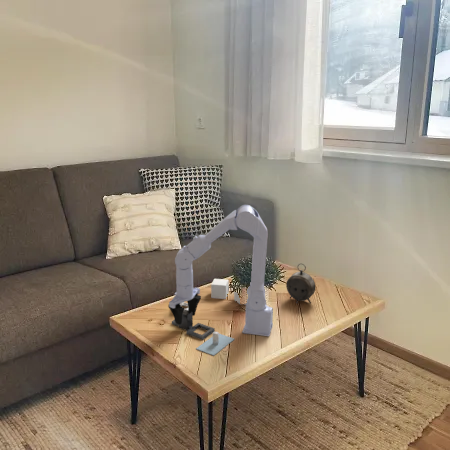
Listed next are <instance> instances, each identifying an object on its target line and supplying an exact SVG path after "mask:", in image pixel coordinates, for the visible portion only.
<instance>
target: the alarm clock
mask: <svg viewBox="0 0 450 450" xmlns="http://www.w3.org/2000/svg"><path fill="white" fill-rule="evenodd" d="M300 265H301V266H302V265H303V266H304V270H303V269H301V270H300V269H299V266H300ZM296 268H297V270H298V271H297V272H294V273H293V274H292V275H291V276H289V278H288V279H287V281H286V291H287V293H288V294H289V298H290V299H291V298H292V299H294V300H295V301H296V304H298V303H299V302H304V301H305V302H306V301H308V302H309V304H312V302H311V299H310V298H311V297H312V296H313V295H314V294H315V292H316V283H315V279H313V277H312V276H311V275H310V274H308V273H307V272H305V271H306V268H307V267H306V265H305V264H304V263H298V265H297V267H296Z"/></svg>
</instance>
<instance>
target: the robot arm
mask: <svg viewBox="0 0 450 450" xmlns="http://www.w3.org/2000/svg"><path fill="white" fill-rule="evenodd" d="M238 228H239V229H240V230H242V231H244V232H247V233H248V234H250V236H252V237H253V244H252V245H253V246H252V258H251V269H252V271H251V282H250V286H249V287H248V289H247V294H248V299H247V303H246V304H245V317H244V321H245V324H244V325H243V329H242V332H241V333H242V334H247V335H254V336H255V335H256V336H262V337H270V336H271V333H272V329H273V326H274V325H273V321H274V320H273V319H274V317H273V316H274V314H273V313H274V308H273V307H271V306H269V305H267V300H266V289H265V277H266V276H265V274H266V264H267V263H266V262H267V251H268V236H269V234H268V233H269V232H268V228H267V226H266V225H265V223H264V220H263V219H262V217H261V216H260V214H259V212H258V211H257V209H256V208H254V207H253V206H251V205H249V204H242V205H241V206H239V207H238V208H237V209H234V210H233V211H232V212H230V213H229V214H228V215H226V216H225V217H224V218H223V219H222V220H221V221H220V222H218V224H216V225H215V226H214V227H213V228H212V229H211V230H209V231H208V232H207V233H206V234H199V235H198V236H197V235H194V237H193V238H192V240H191V241H190V242H189V243H188V244H187V245H183V246H182V248H180V249H179V250H178V251H177V253H176V256H175V258H174V263H175V268H176V271H175V275H176V276H175V277H176V279H175V281H176V282H175V283H176V284H175V285H176V292H174V297H173V298H171V300H170V301H168V306H167V307H168V309H169V310H170V311H171V314H172V316H173V320H174V319H175V323H177V324H181V323H182V314H183V310H184V309H185V306H181V305H180V303H182V302H184V303H188V306H187V308H188V311H191V312H193V317H194V316H195V315H196V313H197V308H198V305H199V303H200V301H201V299H202V296H201V295H200V294H201V290H200V288H199V287H194V270H193V261H197V259H199V258H200V257H201V256H203V255H204V254H206V253H207V251H209V250H210V249H211V247H212V243H214V241H216V240H217V239H218V238H220V237H221V236H223V235H224V234H225V233H227V232H228V231H229V230H231V231H238Z"/></svg>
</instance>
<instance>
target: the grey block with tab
mask: <svg viewBox="0 0 450 450" xmlns="http://www.w3.org/2000/svg"><path fill="white" fill-rule="evenodd" d="M185 309H186V308H184V310H183V314H182V323H181V324H177V323H175V319H174V318H173V320H171V325H173V326H176V327H178V328H179V329H181V330H183V331H185V334H186V335H187V336H191V337H193V338H195V339H199V340H202V341H203V340H205V339H207V338H208V337H209V336H211V335H213V332H216V330H215V329H216V328H214V327H211V326H209V325H206V324H203V323H200V322H198V323H196V324H194V323H193V322H194V319H193V317H194V316H193V312H191V311H188V310H185ZM198 329H201V330H205V332H203V333H202V334H201V333H198V332H196V330H198Z"/></svg>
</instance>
